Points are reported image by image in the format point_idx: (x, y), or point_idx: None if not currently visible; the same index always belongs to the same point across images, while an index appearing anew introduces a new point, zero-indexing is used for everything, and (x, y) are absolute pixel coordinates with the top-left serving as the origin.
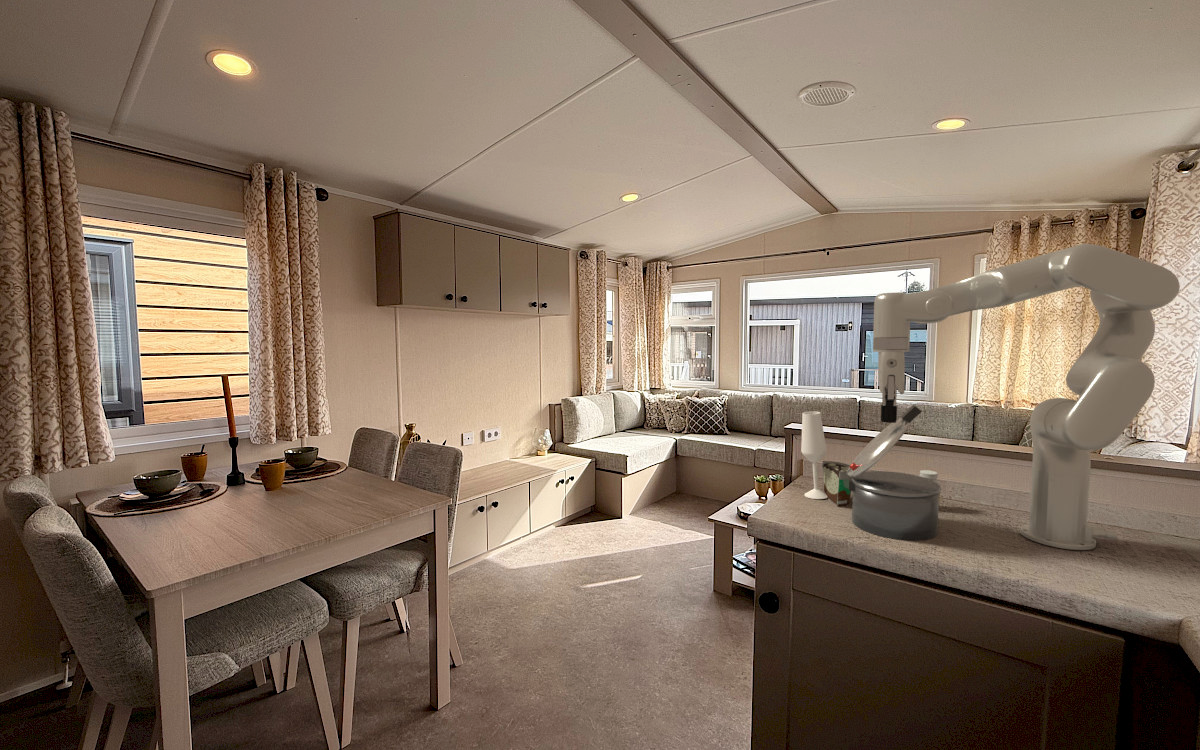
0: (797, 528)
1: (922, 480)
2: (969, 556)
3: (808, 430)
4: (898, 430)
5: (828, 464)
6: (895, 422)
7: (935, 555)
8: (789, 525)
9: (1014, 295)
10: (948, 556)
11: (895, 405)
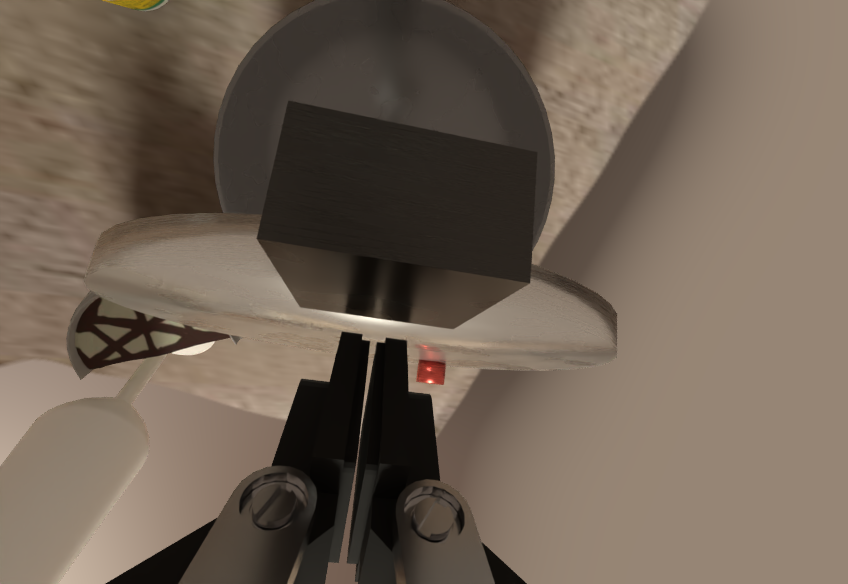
0: (464, 384)
1: (342, 56)
2: (605, 5)
3: (74, 558)
4: (592, 341)
5: (92, 355)
6: (403, 342)
7: (601, 108)
8: (448, 397)
9: None
10: (607, 73)
11: (461, 502)
